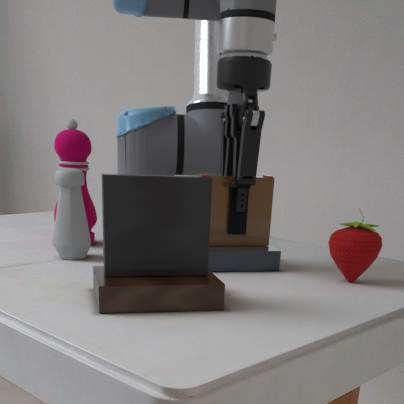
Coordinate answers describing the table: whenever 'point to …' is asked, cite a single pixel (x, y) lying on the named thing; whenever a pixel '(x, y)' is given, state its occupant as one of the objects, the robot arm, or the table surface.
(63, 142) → the pepper mill
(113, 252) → the dark grey flat slab
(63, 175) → the salt shaker
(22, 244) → the table surface
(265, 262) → the slate stand
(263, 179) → the tan flat block
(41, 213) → the table surface
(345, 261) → the strawberry
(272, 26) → the robot arm
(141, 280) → the walnut stand
